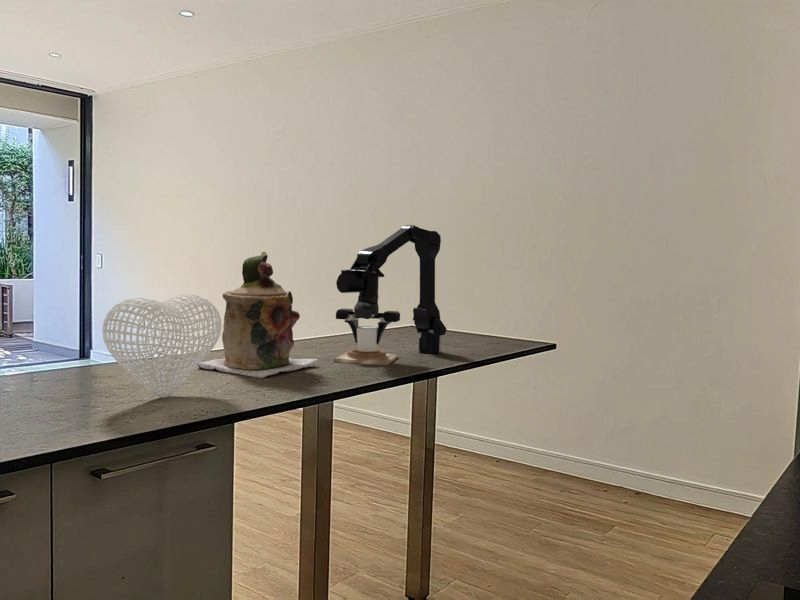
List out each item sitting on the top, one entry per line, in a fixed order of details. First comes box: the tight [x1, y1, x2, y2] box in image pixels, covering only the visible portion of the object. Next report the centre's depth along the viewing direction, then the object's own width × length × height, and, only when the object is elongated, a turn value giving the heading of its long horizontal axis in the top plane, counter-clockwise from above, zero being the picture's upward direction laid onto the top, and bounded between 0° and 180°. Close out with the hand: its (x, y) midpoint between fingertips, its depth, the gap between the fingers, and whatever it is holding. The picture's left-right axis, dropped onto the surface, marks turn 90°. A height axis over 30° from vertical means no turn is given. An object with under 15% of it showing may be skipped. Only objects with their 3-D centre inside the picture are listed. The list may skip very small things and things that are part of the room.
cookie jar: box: [197, 251, 319, 379], centre depth 196 cm, size 25×25×32 cm
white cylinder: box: [356, 325, 378, 352], centre depth 215 cm, size 7×7×7 cm
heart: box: [102, 294, 222, 399], centre depth 155 cm, size 28×16×22 cm, turn 153°
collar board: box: [333, 348, 398, 366], centre depth 216 cm, size 16×15×2 cm
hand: (367, 343), depth 215 cm, fingers closed on white cylinder, 6 cm apart
